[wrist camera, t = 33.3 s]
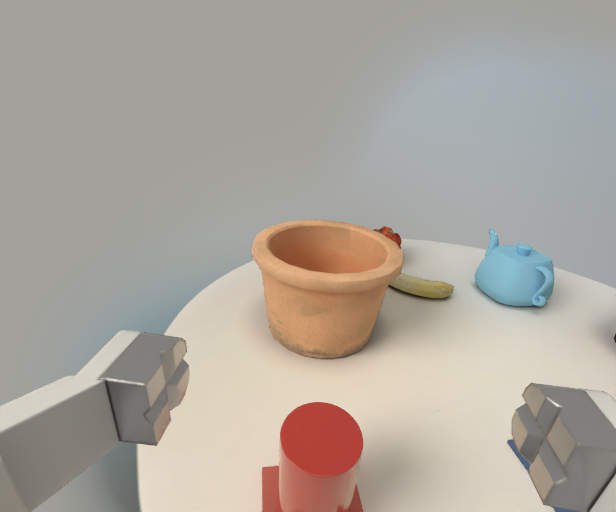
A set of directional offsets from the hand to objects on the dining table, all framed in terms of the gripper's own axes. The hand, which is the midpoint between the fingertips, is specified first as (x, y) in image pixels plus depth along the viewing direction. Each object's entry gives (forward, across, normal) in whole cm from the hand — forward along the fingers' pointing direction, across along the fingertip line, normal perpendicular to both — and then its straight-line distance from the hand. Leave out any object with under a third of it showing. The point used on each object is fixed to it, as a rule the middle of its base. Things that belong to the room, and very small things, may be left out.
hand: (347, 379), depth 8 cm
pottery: (+40, -2, -28) cm, 49 cm away
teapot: (+59, +35, -28) cm, 74 cm away
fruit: (+57, +16, -28) cm, 66 cm away
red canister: (+12, 0, -28) cm, 30 cm away
